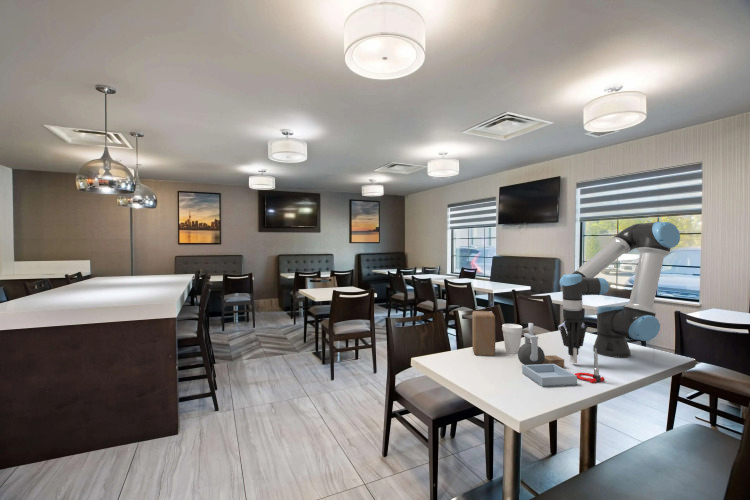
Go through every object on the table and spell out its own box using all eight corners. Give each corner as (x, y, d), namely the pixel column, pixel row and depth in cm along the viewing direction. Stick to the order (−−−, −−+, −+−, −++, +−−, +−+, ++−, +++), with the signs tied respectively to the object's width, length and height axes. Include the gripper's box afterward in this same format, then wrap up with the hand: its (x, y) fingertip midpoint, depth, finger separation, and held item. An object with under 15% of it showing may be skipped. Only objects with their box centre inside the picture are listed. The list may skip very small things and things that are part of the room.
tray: (554, 372, 144) (554, 363, 144) (577, 385, 130) (577, 375, 130) (522, 373, 142) (522, 365, 142) (542, 387, 128) (542, 377, 128)
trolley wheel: (538, 364, 153) (537, 321, 153) (546, 368, 147) (545, 324, 147) (516, 365, 152) (516, 322, 152) (523, 369, 146) (523, 325, 146)
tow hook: (569, 376, 140) (590, 384, 131) (568, 344, 140) (589, 349, 131) (585, 374, 142) (606, 381, 134) (583, 342, 143) (605, 347, 134)
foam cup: (500, 352, 171) (499, 326, 171) (504, 348, 179) (504, 323, 179) (520, 355, 166) (520, 328, 166) (524, 351, 173) (524, 325, 173)
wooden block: (495, 356, 165) (495, 315, 165) (474, 355, 167) (473, 314, 167) (492, 350, 174) (492, 311, 174) (472, 349, 176) (472, 310, 176)
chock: (555, 364, 154) (555, 355, 154) (564, 368, 148) (564, 359, 148) (540, 364, 153) (540, 355, 153) (548, 369, 147) (548, 360, 147)
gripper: (580, 307, 156) (581, 358, 156) (553, 308, 155) (554, 360, 155) (592, 310, 149) (593, 364, 149) (564, 311, 147) (565, 366, 148)
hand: (573, 362), depth 152 cm, fingers closed
